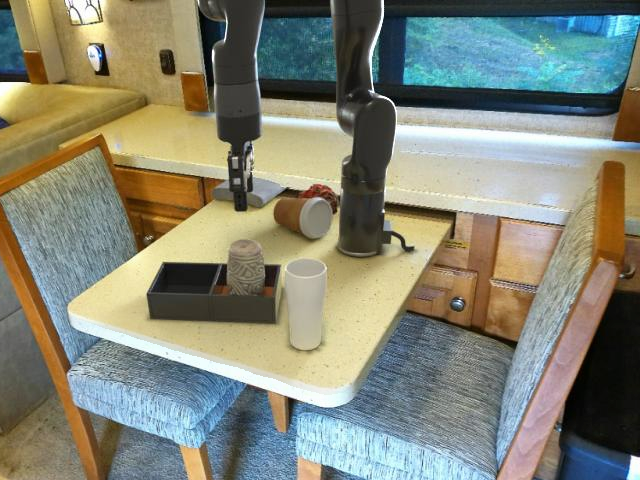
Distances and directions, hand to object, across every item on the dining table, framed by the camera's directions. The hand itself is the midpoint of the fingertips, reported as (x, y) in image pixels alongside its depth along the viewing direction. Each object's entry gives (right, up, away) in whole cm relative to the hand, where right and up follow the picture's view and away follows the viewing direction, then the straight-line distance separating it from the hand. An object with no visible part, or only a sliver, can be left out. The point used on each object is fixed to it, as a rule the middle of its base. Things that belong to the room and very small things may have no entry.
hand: (244, 200), depth 106 cm
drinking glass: (+11, -25, -2) cm, 27 cm away
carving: (+1, -18, +8) cm, 20 cm away
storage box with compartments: (-5, -18, +10) cm, 21 cm away
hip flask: (-2, +9, +49) cm, 50 cm away
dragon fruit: (+18, +3, +42) cm, 46 cm away
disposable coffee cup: (+9, +4, +37) cm, 38 cm away
